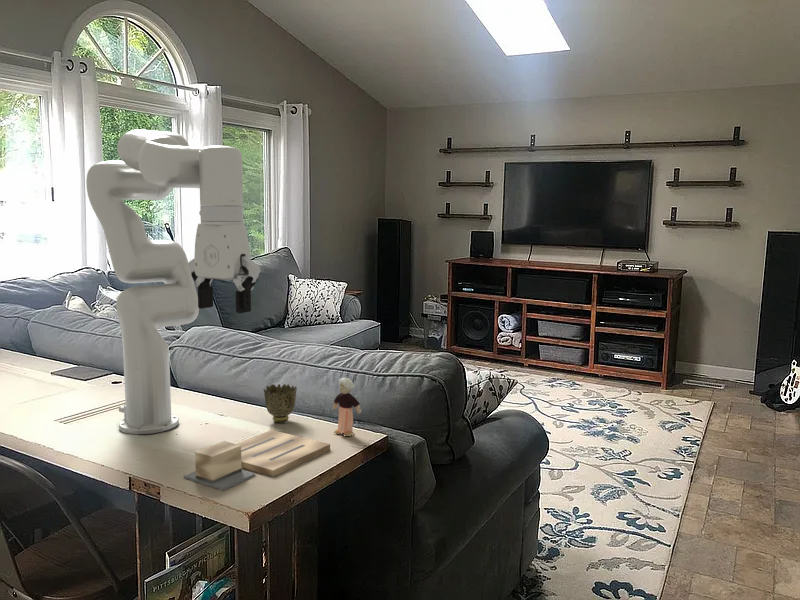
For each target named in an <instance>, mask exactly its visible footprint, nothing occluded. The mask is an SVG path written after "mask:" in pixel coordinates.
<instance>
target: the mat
mask: <svg viewBox="0 0 800 600" xmlns="http://www.w3.org/2000/svg"><path fill="white" fill-rule="evenodd" d="M255 476H256V472H255V473H254V472H250V471H247V470H244V469H242V471H241V472H239V473H237V474H234V475H232V476H230V477H227V478H225V479H223V480H221V481H218V482H216V483H214V484H212V483H209V482H206V481H203V480H200V479H196V470H195V471H192V472H190V473H187V474H185V475H183V478H184V479H186V480H190V481H192V482H195V483H199V484H202V485H205V486H208V487H211V488H215V489H218V490H221V491H224V490H227V489H229V488H231V487H233V485H234V486H236V485H238V484H241V483H242V482H245V481H247V480H248V479H251V478H253V477H255Z"/></svg>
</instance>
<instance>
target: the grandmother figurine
mask: <svg viewBox="0 0 800 600" xmlns="http://www.w3.org/2000/svg"><path fill="white" fill-rule="evenodd" d="M338 381H339V382H338V385H339V393H338V394H337V395H336V397H335V398H334V400H333V404H332V409H334V410H335V409H337V408H338V419H337V420H338V421H337V422H338V423H337V429H335V430H334V431H333V434H334V433H336V434H340V435H342V436H343V435H345V436H351V435H352V434H354V435H355V432H354V431H353V426H354V425H353V424H354V414H353V407H354V408H355V410H356V413H357V414H361V413H362V409H361V405H360V404H361V403H360V402H359V401H358V399H357V398H356V397H355V396H353V395H352V394H351V391H352V390H353V389H354V388H355V384H354V383H353V381H352V380H351V379H350V378H349V377H342V378H340V379H339V380H338ZM341 433H344V434H341ZM336 434H335V435H336ZM345 436H344V437H345ZM352 436H353V435H352ZM352 436H351V437H352Z"/></svg>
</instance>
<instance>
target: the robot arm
mask: <svg viewBox="0 0 800 600" xmlns="http://www.w3.org/2000/svg"><path fill="white" fill-rule="evenodd" d="M117 154H118V155H119V158H120V159H121V160H106V161H105V160H104V161H101V162H97V163H95V164H93V165H92V166H91V167H90V168H89V169H88V171H87V174H86V181H85V182H86V192H87V196H88V199H89V203H90V205H91V208H92V210H93V211H94V214H95V215H96V217H97V219H98V221H99V223H100V225H101V226H102V227H101V228H102V229H103V232H104V235H105V236H104V237H105V241H106V245H107V248H108V253H109V256H110V259H111V265H112V267H113V271H114V273H115V276H116V278H117V279H118V280H119V281H121V282H122V283H126V284H144V283H146V284H147V283H161V282H162V283H163V284H147V285H137V286H131V287H128V288H125V289H124V290H123V291H121V292H120V293H119V294H118V296H117V298H116V303H115V306H116V309H115V310H116V314H117V319H118V322H119V327H120V331H121V332H120V333H121V339H122V340H121V341H122V354H123V355H122V358H123V378H124V379H123V380H124V397H125V402H124V404H123V405H120V406H119V407H118V412H120V413H123V415H124V416H123V419H121V420H120V421H119V422H118V429H119V431H121V432H123V433H126V434H131V435H150V434H152V435H153V434H156V433H157V434H158V433H163V432H167V431H169V430H172V429H174V428H176V427H177V426H178V425H179V417H178V416H177V415H175V414H172V399H171V397H172V395H171V373H170V372H171V371H170V370H171V369H170V351H169V349H170V348H169V345H168V343H167V342H166V339H164V337H162V335H161V334H160V333H159V331H158V329H162V328H166V327H174V326H182V325H188V324H191V323H193V322H194V321H195V320H196V319H197V317H198V315H199V312H200V309H201V310H202V309H207V308H213V307H214V287H213V285H211V284H212V283H213V280H217V281H231V280H232V281H233V283H234V285H235V287H236V288H237V290H235V312H236V313H237V314H244V313H249V312H251V311H252V297H251V295H252V292H251V291H253V289H254V287H255V284H256V283H257V282H258V278H259V275H260V272H261V266H259V265H258V264H257V263H256V262H254V261H253V260H252V259H251V258H250V245H249V239H248V231H247V228H246V224H245V223H244V199H243V198H244V193H243V192H244V187H243V185H244V184H243V180H244V179H243V178H244V177H243V155H242V152H241V150H240V149H239V148H237V147H234V146H228V145H209V146H208V145H207V146H206V145H205V146H204V147H199V146H190V144H189V143H188V141H187V140H186V138H185V137H184V136H183V135H181V134H179V133H176V132H174V131H173V132H171V131H162V130H161V131H160V130H150V129H149V130H148V129H133V130H130V131H127V132H126V133H124V134H123V135H122V136H120V138H119V140H118V142H117ZM174 188H175V189H176V188H177V189H178V188H182V189H184V188H185V189H199V205H200V206H199V209H200V210H199V212H198V213H199V216H200V223H198V224H197V228H196V232H195V240H194V255H193V256H194V258H193V259H191V260H189V261H188V257H187V255H186V252H185V250H184V248H183V247H182V246H181V245H180V244H179V243H178V242H176V241H175V240H171V239H169V240H168V239H150V238H149V237H148V235H147V233H146V228H145V224H144V222H143V220H142V219H141V217H140V216H139V215H138V213H136V211H135V210H134V209H133V208H132V207H130V206H129V205H128V204H126V202H124V200H125V201H126V200H128V201H129V200H130V201H131V200H133V201H136V200H137V201H139V200H140V201H160V200H163V199H165V198H167V197H168V196H169V195H170V194H171V193H172V191H173V189H174ZM196 287H197V289H196Z"/></svg>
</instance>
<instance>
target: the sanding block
mask: <svg viewBox="0 0 800 600" xmlns="http://www.w3.org/2000/svg"><path fill="white" fill-rule="evenodd" d="M194 456H195V457H194V459H195V461H194V463H195V471H196V479H200V480H203V481H206V482H209V483H212V484H214V483H216V482H218V481H221V480H223V479H225V478H227V477H230V476H232V475H234V474H237V473H239V472H241V471H242V470H243V469H242V465H241V445H238V444H237V443H234V442H230V441H226V440H223V441H220V442H218V443H215V444H212V445H210V446H206V447H204V448H200V450H196V451H194Z"/></svg>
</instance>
